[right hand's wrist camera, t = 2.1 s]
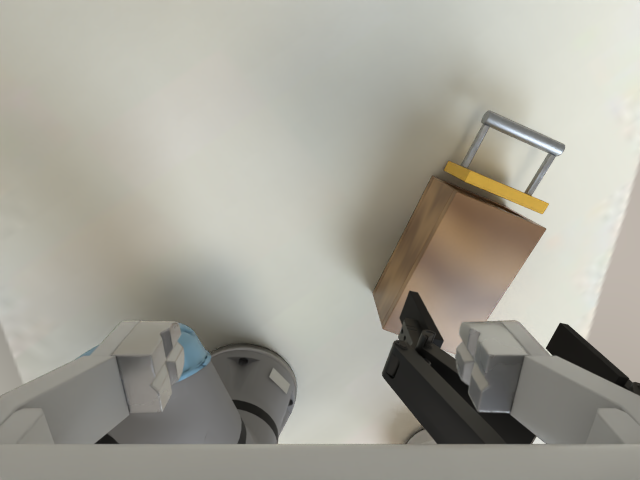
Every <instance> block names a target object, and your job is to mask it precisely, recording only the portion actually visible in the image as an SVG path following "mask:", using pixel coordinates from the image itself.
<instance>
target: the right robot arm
mask: <svg viewBox="0 0 640 480" xmlns="http://www.w3.org/2000/svg"><path fill="white" fill-rule="evenodd" d="M180 336H181V330H180V325H179V324H178V323H177V322H176V321H140V320H139V321H122V322H120V323H119V324H118V325H117V327H116V328H115V329H114V330H113V331H112V332H111V333H110V334H109V335H108V336H107V337H106V338H105V339H104V341H103V342H102V343H101V344H100V345H99V346H98V347H97V348H96V349H95V350H94V351H93V352H92V353H91V355H90V356H82V357H80V358H78V359H76V360H74V361H72V362H70V363H67V364H65V365H63V366H61V367H59V368H57V369H55V370H53V371H51V372H49V373H47V374H45V375H42V376H40V377H38V378H36V379H34V380H32V381H30V382H28V383H26V384H24V385H22V386H20V387H18V388H15V389H13V390H11V391H9V392H7V393H5V394H3V395H1V396H0V480H640V396H639V395H637V394H635V393H633V392H631V391H629V390H627V389H624V388H622V387H620V386H618V385H616V384H614V383H612V382H610V381H608V380H606V379H604V378H602V377H599V376H597V375H595V374H593V373H591V372H589V371H587V370H585V369H583V368H581V367H579V366H577V365H575V364H572V363H570V362H568V361H566V360H564V359H562V358H560V357H558V356H550V355H549V353H548V352H547V351H546V350H545V349H544V348H543V347H542V346H541V345H540V344H539V343H538V342H537V341H536V339H535V338H534V337H533V336H532V335H531V334H530V333H529V332H528V331H527V330H526V329H525V328H524V327H523V325H522V324H521V323H520V322H518V321H515V320H510V321H481V322H462V324H461V326H460V330H459V336H460V337H461V339H462V342H461V343H460V344H459V345H458V346H457V348H456V356H455V359H456V368H457V371H458V374H459V377H460V379H461V381H462V382H464V383H465V384H467V385H468V386H469V389H468V394H469V396H470V398H471V400H472V402H473V404H474V406H475V408H476V410H477V411H478V412H489V413H511V414H510V415H511V416H513V417H514V418H515V419H516V420H518V421H519V422H520V423H521V424H522V425H524V426H525V427H526V428H527V429H529V430H530V431H531V432H532V433H533V434H535V435H536V436H537V437H538V438H539V439H541V440H542V441H543V442H544V443H546V444H95V443H96V442H97V441H98V440H99V439H101V438H102V437H103V436H104V435H106V434H107V433H108V432H109V431H110V430H112V429H113V428H114V427H115V426H117V425H118V424H119V423H120V422H121V421H123V420H124V419H125V418H126V417H127V416H129V413H150V412H163V410H164V408H165V406H166V404H167V402H168V400H169V398H170V396H171V394H172V389H171V386H172V385H173V384H175V383H176V382H178V381H179V379H180V376H181V374H182V371H183V367H184V348H183V346H182V345H181V344H180V343H179V342H178V339H179V337H180Z"/></svg>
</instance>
